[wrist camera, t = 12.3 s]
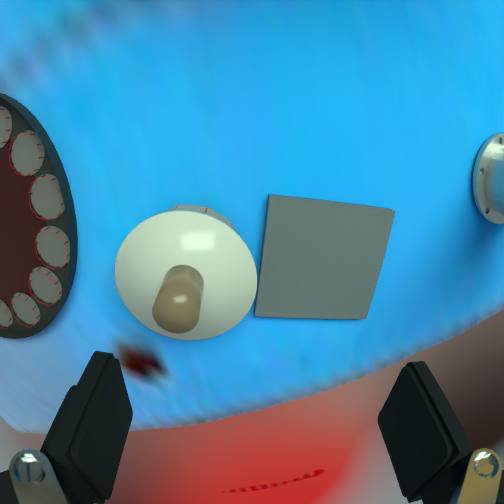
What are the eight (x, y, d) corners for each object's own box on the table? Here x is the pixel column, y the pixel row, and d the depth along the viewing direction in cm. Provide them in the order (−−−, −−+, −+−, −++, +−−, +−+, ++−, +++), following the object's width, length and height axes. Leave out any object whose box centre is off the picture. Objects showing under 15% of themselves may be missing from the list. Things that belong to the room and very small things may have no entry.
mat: (391, 208, 33) (395, 211, 32) (363, 314, 39) (365, 319, 38) (268, 194, 32) (269, 196, 31) (254, 311, 38) (254, 316, 37)
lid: (264, 215, 27) (272, 240, 21) (249, 339, 32) (252, 379, 26) (113, 205, 26) (86, 227, 20) (124, 328, 31) (108, 365, 25)
